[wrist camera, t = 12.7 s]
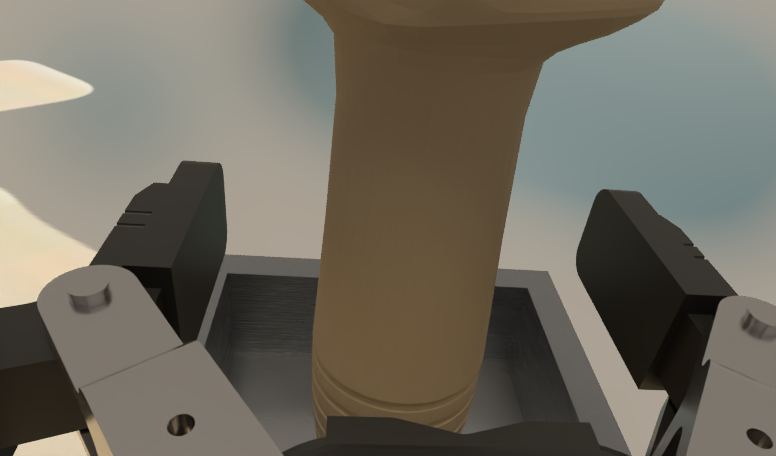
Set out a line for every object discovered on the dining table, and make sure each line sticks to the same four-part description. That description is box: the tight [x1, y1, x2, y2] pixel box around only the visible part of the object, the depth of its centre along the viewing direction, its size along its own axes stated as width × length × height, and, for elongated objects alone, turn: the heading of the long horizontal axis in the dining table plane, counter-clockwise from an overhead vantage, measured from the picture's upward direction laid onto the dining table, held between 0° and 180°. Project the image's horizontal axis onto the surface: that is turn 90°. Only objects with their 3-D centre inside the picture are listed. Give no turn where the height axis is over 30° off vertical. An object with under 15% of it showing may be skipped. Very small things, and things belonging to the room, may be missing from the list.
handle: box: [304, 0, 664, 439], centre depth 12 cm, size 5×6×15 cm
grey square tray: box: [197, 255, 632, 456], centre depth 16 cm, size 16×16×4 cm
